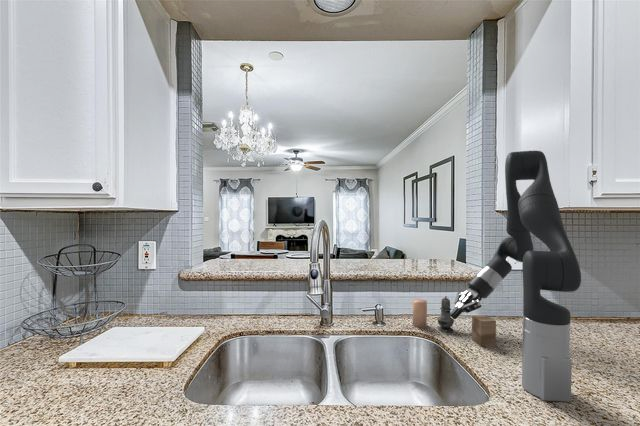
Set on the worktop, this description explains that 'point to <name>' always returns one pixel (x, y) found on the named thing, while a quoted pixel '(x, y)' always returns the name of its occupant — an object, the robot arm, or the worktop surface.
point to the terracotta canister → (419, 313)
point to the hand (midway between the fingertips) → (452, 317)
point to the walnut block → (484, 330)
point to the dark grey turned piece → (445, 316)
